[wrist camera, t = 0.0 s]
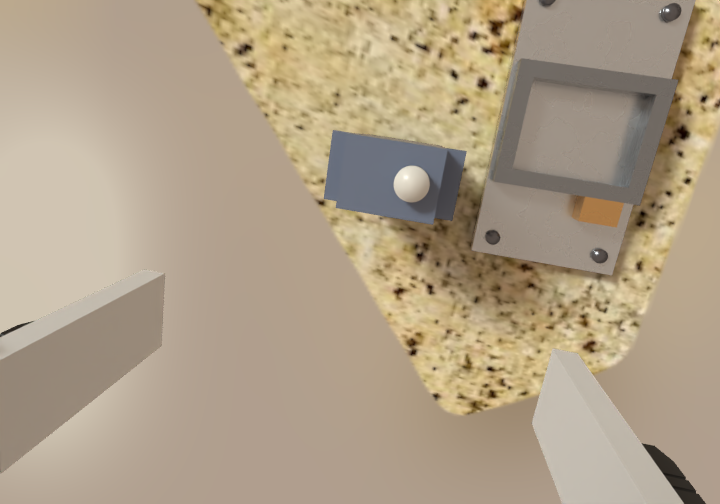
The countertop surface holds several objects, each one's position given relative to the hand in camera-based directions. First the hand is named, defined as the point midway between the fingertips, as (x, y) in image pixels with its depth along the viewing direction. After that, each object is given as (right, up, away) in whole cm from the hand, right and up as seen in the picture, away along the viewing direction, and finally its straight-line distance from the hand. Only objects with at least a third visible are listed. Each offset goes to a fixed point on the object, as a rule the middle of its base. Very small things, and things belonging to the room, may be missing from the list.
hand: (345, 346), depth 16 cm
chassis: (+18, +13, +23) cm, 32 cm away
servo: (+4, +11, +26) cm, 28 cm away
